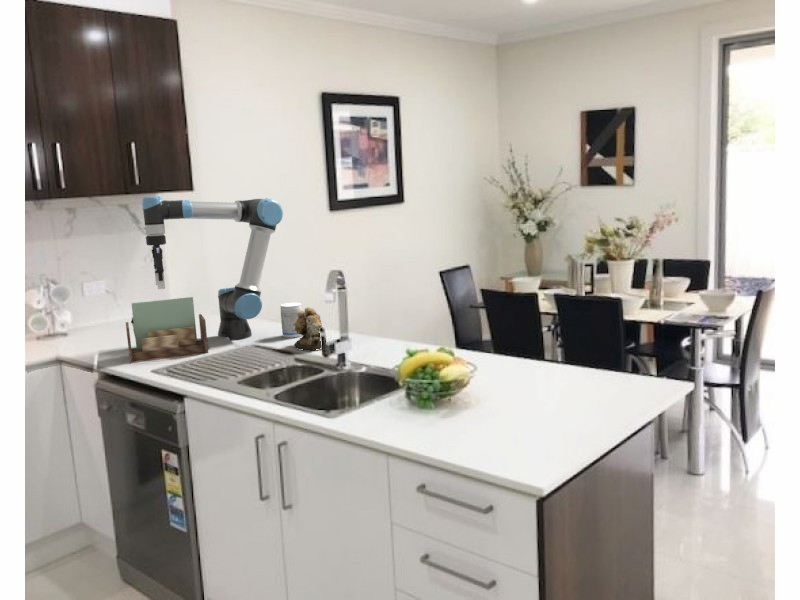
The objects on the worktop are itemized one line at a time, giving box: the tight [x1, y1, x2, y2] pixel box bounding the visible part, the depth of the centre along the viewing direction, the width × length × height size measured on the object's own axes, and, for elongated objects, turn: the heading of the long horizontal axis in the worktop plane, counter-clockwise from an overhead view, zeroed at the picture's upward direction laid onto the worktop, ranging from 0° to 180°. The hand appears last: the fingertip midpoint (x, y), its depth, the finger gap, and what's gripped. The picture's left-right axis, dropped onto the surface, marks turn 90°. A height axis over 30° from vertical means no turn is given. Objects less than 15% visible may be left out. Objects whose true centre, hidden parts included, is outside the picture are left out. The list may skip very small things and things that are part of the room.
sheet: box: [131, 296, 198, 349], centre depth 285 cm, size 24×1×22 cm, turn 112°
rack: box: [125, 314, 209, 364], centre depth 281 cm, size 30×14×16 cm, turn 112°
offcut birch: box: [141, 335, 179, 352], centre depth 279 cm, size 14×1×8 cm, turn 112°
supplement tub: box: [279, 302, 303, 339], centre depth 313 cm, size 10×10×15 cm
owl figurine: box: [293, 306, 323, 351], centre depth 290 cm, size 18×12×17 cm, turn 41°
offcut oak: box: [148, 327, 195, 346], centre depth 284 cm, size 18×1×10 cm, turn 112°
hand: (160, 286), depth 282 cm, fingers open, 13 cm apart
